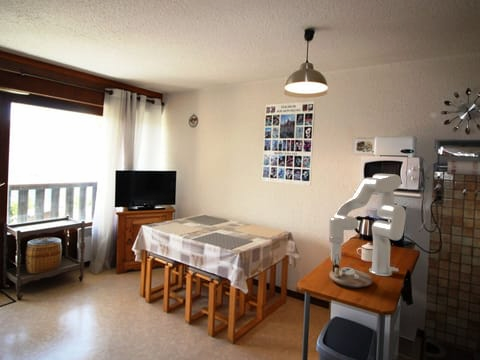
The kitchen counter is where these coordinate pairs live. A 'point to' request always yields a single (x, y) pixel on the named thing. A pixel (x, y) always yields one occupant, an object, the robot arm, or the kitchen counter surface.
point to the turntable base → (350, 286)
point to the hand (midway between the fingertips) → (335, 271)
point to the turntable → (357, 281)
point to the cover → (348, 272)
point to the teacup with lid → (366, 252)
